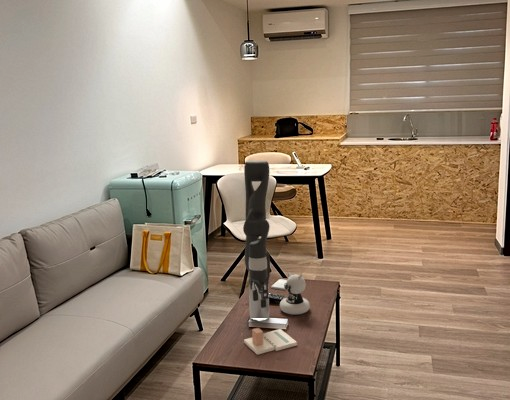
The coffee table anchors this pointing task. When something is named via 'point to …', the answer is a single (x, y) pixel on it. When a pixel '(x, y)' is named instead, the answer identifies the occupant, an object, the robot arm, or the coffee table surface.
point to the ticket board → (279, 339)
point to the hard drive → (279, 284)
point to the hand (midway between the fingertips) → (259, 303)
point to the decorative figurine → (295, 296)
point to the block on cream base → (258, 342)
